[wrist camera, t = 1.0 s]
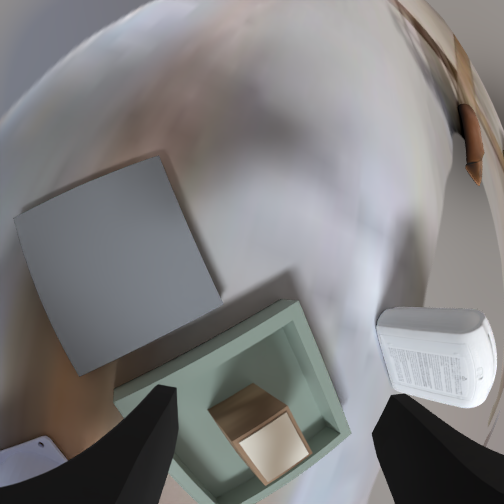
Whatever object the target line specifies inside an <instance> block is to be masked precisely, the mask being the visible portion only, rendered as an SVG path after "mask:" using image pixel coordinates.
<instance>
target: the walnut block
mask: <svg viewBox="0 0 504 504" xmlns="http://www.w3.org/2000/svg"><path fill="white" fill-rule="evenodd" d="M208 412H209V413H210V415H211V416H212V418H213V419H214V421H215V422H216V424H217V425H218V427H219V428H220V430H221V431H222V433H223V434H224V436H225V437H226V438H227V440H228V441H229V443H230V444H231V446H232V447H233V448H234V450H235V451H236V452H237V454H238V455H239V456H240V457H241V459H242V460H243V461H244V462H245V463H246V465H247V466H248V467H249V468H250V469H251V470H252V472H253V473H254V474H255V475H256V476H257V477H258V478H259V480H260V481H261V482H262V483H263V484H264V485H265V486H266V485H268V484H269V483H271V482H272V481H274V480H276V479H277V478H279V477H280V476H282V475H283V474H285V473H286V472H288V471H289V470H290V469H292V468H293V467H295V466H296V465H298V464H299V463H300V462H302V461H303V460H304V459H306V458H307V457H308V456H310V455H311V454H312V451H311V449H310V447H309V445H308V443H307V442H306V440H305V438H304V436H303V434H302V432H301V430H300V428H299V426H298V424H297V423H296V421H295V419H294V417H293V415H292V413H291V411H290V409H289V407H288V405H286V404H284V403H283V402H281V401H280V400H278V399H277V398H275V397H274V396H272V395H271V394H269V393H268V392H266V391H265V390H263V389H262V388H260V387H259V386H257V385H256V384H254V383H252V384H250V385H248V386H247V387H245V388H244V389H242V390H240V391H239V392H237V393H235V394H234V395H232V396H230V397H229V398H227V399H225V400H224V401H222V402H220V403H218V404H217V405H215V406H213V407H211V408H210V409H208Z"/></svg>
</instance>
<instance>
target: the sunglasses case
mask: <svg viewBox="0 0 504 504" xmlns="http://www.w3.org/2000/svg"><path fill="white" fill-rule="evenodd" d="M458 108H459V112H460V115H461V117H462V122H463V130H464V136H465V146H466V157H467V158H466V161H467V164H466V167H465V169H466V170H467V172H468V174H469V175H470V177H471V178H472V179H473V181H474V182H475V183H476V184H477V185H478V186H480V183H481V179H482V158H483V155H484V149H483V143H482V138H481V131H480V126H479V123H478V119H477V117H476V115H475V112H474V111H473V109H472V108H471V106H469V105H467V104H460V105H459V106H458Z"/></svg>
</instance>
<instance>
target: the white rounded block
mask: <svg viewBox="0 0 504 504" xmlns="http://www.w3.org/2000/svg"><path fill="white" fill-rule="evenodd" d="M376 329H377V335H378V339H379V342H380V346H381V349H382V353H383V356H384V360H385V363H386V366H387V370H388V373H389V377H390V380H391V383H392V386H393V388H394V389H395V390H396V391H399V392H402V393H406V394H409V395H413V396H417V397H421V398H424V399H428V400H433V401H436V402H441V403H445V404H449V405H453V406H458V407H462V408H472V407H476V406H478V405H480V404H482V403H483V402H484V401H485V399H486V397H487V395H488V393H489V391H490V389H491V387H492V385H493V382H494V378H495V374H496V368H497V352H496V344H495V340H494V335H493V331H492V329H491V326H490V323H489V321H488V319H487V317H486V315H485V314H484V313H483V312H482V311H480V310H477V309H462V308H426V307H395V308H394V309H392V308H390V309H387V310H385V311H384V312H383V313H382V314H381V315H380V317H379V319H378V321H377V326H376Z"/></svg>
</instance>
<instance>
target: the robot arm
mask: <svg viewBox="0 0 504 504" xmlns="http://www.w3.org/2000/svg"><path fill="white" fill-rule="evenodd" d="M178 430H179V423H178V405H177V387H171V386H165V385H160V384H158V385H156V386H155V387H154V388H153V389H152V390H151V391H150V392H149V394H148V395H147V396H146V397H145V398H144V399H143V400H142V401H141V402H140V403H139V404H138V405H137V406H136V407H135V408H134V409H133V410H132V411H131V412H130V413H129V414H128V415H127V416H126V417H125V418H124V419H123V420H122V421H121V422H120V423H119V424H118V425H117V426H115V427H114V428H113V429H112V430H111V431H109V432H108V433H107V434H106V435H105V436H103V437H102V438H101V439H100V440H98V441H97V442H96V443H95V444H93V445H92V446H90V447H89V448H88V449H86V450H85V451H83V452H82V453H80V454H79V455H77V456H75V457H74V458H72V459H70V460H69V461H68V460H67V459H66V457H65V456H64V455H63V454H62V453H61V451H60V450H59V449H58V448H57V446H56V445H55V444H54V443H53V441H52V440H51V439H50V438H49V437H47V436H41V437H38V438H36V439H33V440H30V441H27V442H25V443H22V444H19V445H16V446H13V447H10V448H7V449H4V450H1V451H0V504H158V503H159V499H160V496H161V493H162V490H163V487H164V484H165V481H166V478H167V475H168V471H169V468H170V465H171V462H172V459H173V456H174V452H175V447H176V441H177V436H178ZM372 437H373V442H374V446H375V450H376V454H377V458H378V460H379V463H380V466H381V468H382V471H383V473H384V475H385V478H386V481H387V484H388V486H389V489H390V491H391V494H392V496H393V499H394V502H395V504H504V455H502V454H499V453H497V452H495V451H492V450H490V449H488V448H486V447H484V446H482V445H480V444H478V443H476V442H475V441H473V440H471V439H469V438H468V437H466V436H464V435H463V434H461V433H460V432H458V431H457V430H455V429H454V428H452V427H451V426H449V425H448V424H447V423H445V422H444V421H442V420H441V419H440V418H438V417H437V416H436V415H434V414H432V412H430V411H429V410H427V409H426V408H425V407H424V406H422V405H421V404H419V403H418V402H417V401H415V400H414V399H412V398H411V397H410V396H408V395H406V394H396V395H391V396H390V398H389V400H388V403H387V405H386V407H385V409H384V411H383V413H382V415H381V417H380V419H379V421H378V422H377V424H376V426H375V428H374V430H373V432H372ZM39 442H41V443H43V444H44V445H41V444H40V443H39Z"/></svg>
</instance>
